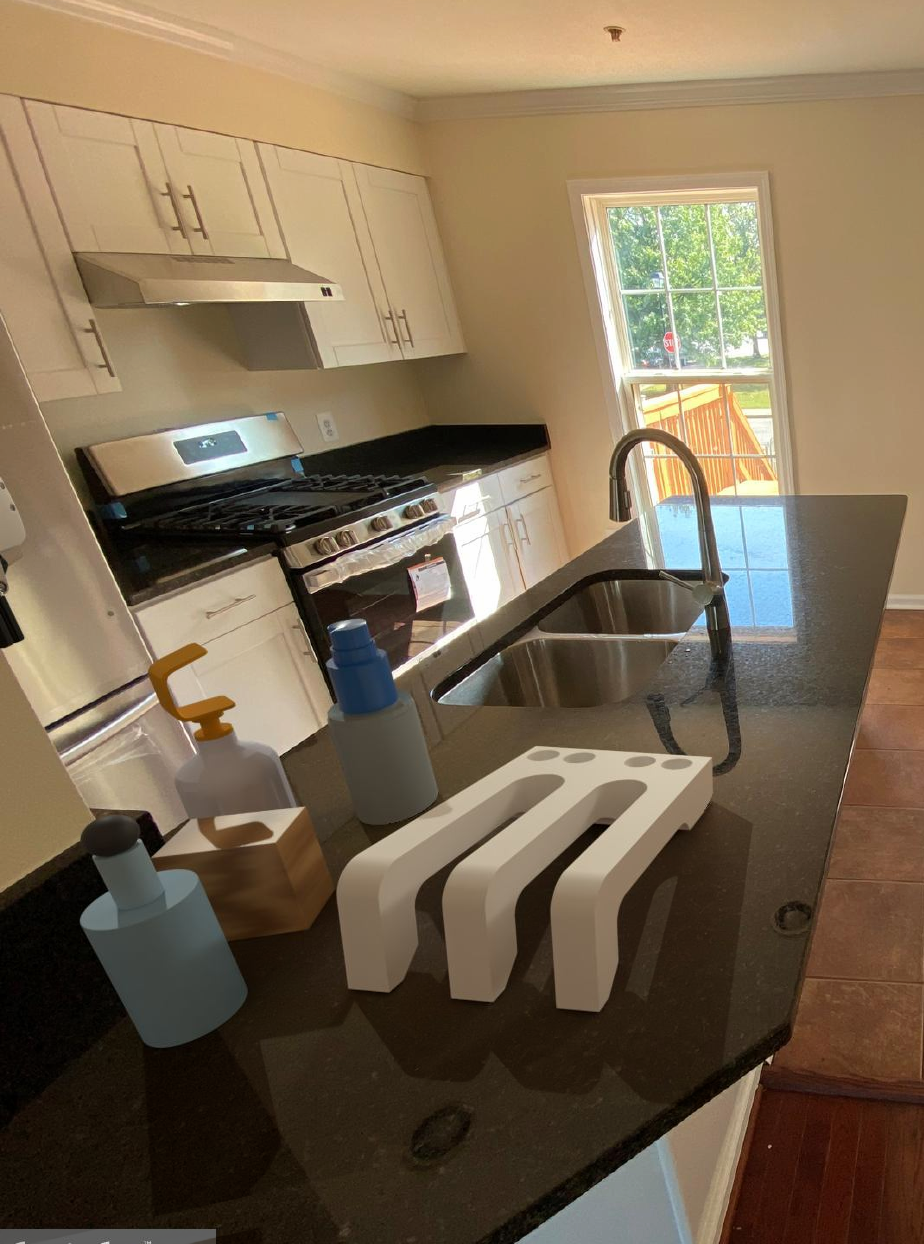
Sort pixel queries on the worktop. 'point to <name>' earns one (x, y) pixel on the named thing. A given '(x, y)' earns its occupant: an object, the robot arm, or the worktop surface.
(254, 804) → the soap bottle
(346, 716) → the spray bottle
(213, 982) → the bottle
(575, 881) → the bracket
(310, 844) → the oak block
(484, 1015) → the worktop surface
